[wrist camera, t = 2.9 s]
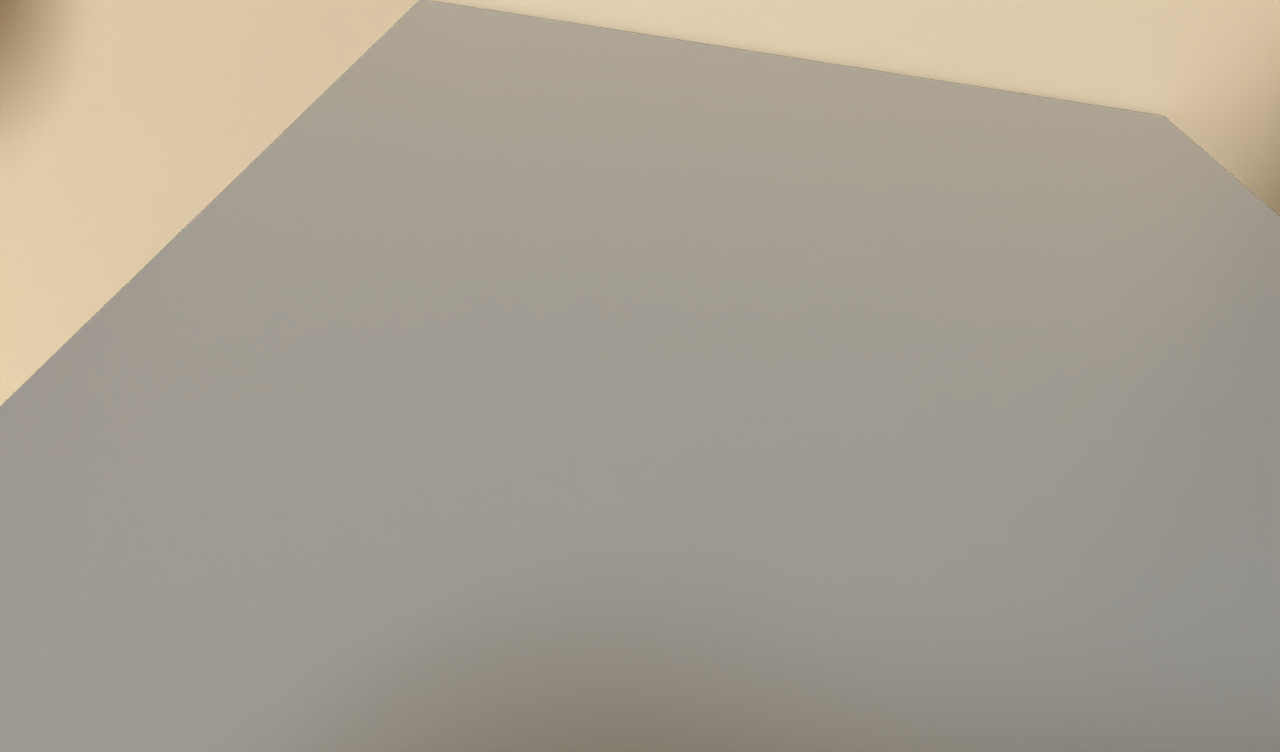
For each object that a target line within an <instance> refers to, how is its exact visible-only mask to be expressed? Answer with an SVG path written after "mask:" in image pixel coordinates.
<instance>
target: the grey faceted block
mask: <svg viewBox="0 0 1280 752" xmlns="http://www.w3.org/2000/svg"><path fill="white" fill-rule="evenodd" d="M0 752H1280V216H1279V215H1278V214H1276V213H1275V212H1274V211H1273V210H1272V209H1271V208H1270V207H1268V206H1267V205H1266V204H1265V203H1264V202H1263V201H1262V200H1260V199H1259V198H1258V197H1257V196H1256V195H1255V194H1254V193H1252V192H1251V191H1250V190H1249V189H1248V188H1247V187H1245V186H1244V185H1243V184H1242V183H1241V182H1240V181H1239V180H1237V179H1236V178H1235V177H1234V176H1233V175H1232V174H1231V173H1229V172H1228V171H1227V170H1226V169H1225V168H1224V167H1222V166H1221V165H1220V164H1219V163H1218V162H1217V161H1216V160H1214V159H1213V158H1212V157H1211V156H1210V155H1209V154H1208V153H1206V152H1205V151H1204V150H1203V149H1202V148H1201V147H1200V146H1198V145H1197V144H1196V143H1195V142H1194V141H1193V140H1191V139H1190V138H1189V137H1188V136H1187V135H1186V134H1185V133H1183V132H1182V131H1181V130H1180V129H1179V128H1178V127H1177V126H1175V125H1174V124H1173V123H1172V122H1171V121H1170V120H1168V119H1167V118H1166V117H1165V116H1162V115H1155V114H1149V113H1142V112H1136V111H1130V110H1123V109H1117V108H1111V107H1104V106H1098V105H1092V104H1085V103H1079V102H1072V101H1066V100H1060V99H1053V98H1047V97H1041V96H1034V95H1028V94H1022V93H1015V92H1009V91H1002V90H996V89H990V88H983V87H977V86H971V85H964V84H958V83H952V82H945V81H939V80H932V79H926V78H920V77H913V76H907V75H901V74H894V73H888V72H882V71H875V70H869V69H862V68H856V67H850V66H843V65H837V64H831V63H824V62H818V61H812V60H805V59H799V58H793V57H786V56H780V55H773V54H767V53H761V52H754V51H748V50H742V49H735V48H729V47H723V46H716V45H710V44H703V43H697V42H691V41H684V40H678V39H672V38H665V37H659V36H653V35H646V34H640V33H633V32H627V31H621V30H614V29H608V28H602V27H595V26H589V25H583V24H576V23H570V22H563V21H557V20H551V19H544V18H538V17H532V16H525V15H519V14H513V13H506V12H500V11H493V10H487V9H481V8H474V7H468V6H462V5H455V4H449V3H443V2H436V1H430V0H419V1H418V2H417V3H416V4H415V5H414V6H413V7H412V8H411V9H410V10H409V11H408V12H407V13H406V14H405V15H404V16H403V17H402V18H401V19H400V20H399V21H397V22H396V23H395V24H394V25H393V26H392V27H391V28H390V29H389V30H388V31H387V32H386V33H385V34H384V35H383V36H382V37H381V38H380V39H379V40H378V41H377V42H376V43H375V44H374V45H373V46H372V47H371V48H370V49H369V50H368V51H367V52H366V53H364V54H363V55H362V56H361V57H360V58H359V59H358V60H357V61H356V62H355V63H354V64H353V65H352V66H351V67H350V68H349V69H348V70H347V71H346V72H345V73H344V74H343V75H342V76H341V77H340V78H339V79H338V80H337V81H336V82H335V83H334V84H332V85H331V86H330V87H329V88H328V89H327V90H326V91H325V92H324V93H323V94H322V95H321V96H320V97H319V98H318V99H317V100H316V101H315V102H314V103H313V104H312V105H311V106H310V107H309V108H308V109H307V110H306V111H305V112H304V113H303V114H302V115H301V116H299V117H298V118H297V119H296V120H295V121H294V122H293V123H292V124H291V125H290V126H289V127H288V128H287V129H286V130H285V131H284V132H283V133H282V134H281V135H280V136H279V137H278V138H277V139H276V140H275V141H274V142H273V143H272V144H271V145H270V146H269V147H267V148H266V149H265V150H264V151H263V152H262V153H261V154H260V155H259V156H258V157H257V158H256V159H255V160H254V161H253V162H252V163H251V164H250V165H249V166H248V167H247V168H246V169H245V170H244V171H243V172H242V173H241V174H240V175H239V176H238V177H237V178H236V179H234V180H233V181H232V182H231V183H230V184H229V185H228V186H227V187H226V188H225V189H224V190H223V191H222V192H221V193H220V194H219V195H218V196H217V197H216V198H215V199H214V200H213V201H212V202H211V203H210V204H209V205H208V206H207V207H206V208H205V209H204V210H202V211H201V212H200V213H199V214H198V215H197V216H196V217H195V218H194V219H193V220H192V221H191V222H190V223H189V224H188V225H187V226H186V227H185V228H184V229H183V230H182V231H181V232H180V233H179V234H178V235H177V236H176V237H175V238H174V239H173V240H172V241H171V242H169V243H168V244H167V245H166V246H165V247H164V248H163V249H162V250H161V251H160V252H159V253H158V254H157V255H156V256H155V257H154V258H153V259H152V260H151V261H150V262H149V263H148V264H147V265H146V266H145V267H144V268H143V269H142V270H141V271H140V272H139V273H138V274H136V275H135V276H134V277H133V278H132V279H131V280H130V281H129V282H128V283H127V284H126V285H125V286H124V287H123V288H122V289H121V290H120V291H119V292H118V293H117V294H116V295H115V296H114V297H113V298H112V299H111V300H110V301H109V302H108V303H107V304H106V305H104V306H103V307H102V308H101V309H100V310H99V311H98V312H97V313H96V314H95V315H94V316H93V317H92V318H91V319H90V320H89V321H88V322H87V323H86V324H85V325H84V326H83V327H82V328H81V329H80V330H79V331H78V332H77V333H76V334H75V335H74V336H73V337H71V338H70V339H69V340H68V341H67V342H66V343H65V344H64V345H63V346H62V347H61V348H60V349H59V350H58V351H57V352H56V353H55V354H54V355H53V356H52V357H51V358H50V359H49V360H48V361H47V362H46V363H45V364H44V365H43V366H42V367H41V368H39V369H38V370H37V371H36V372H35V373H34V374H33V375H32V376H31V377H30V378H29V379H28V380H27V381H26V382H25V383H24V384H23V385H22V386H21V387H20V388H19V389H18V390H17V391H16V392H15V393H14V394H13V395H12V396H11V397H10V398H9V399H8V400H6V401H5V402H4V403H3V404H2V405H1V406H0Z"/></svg>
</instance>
